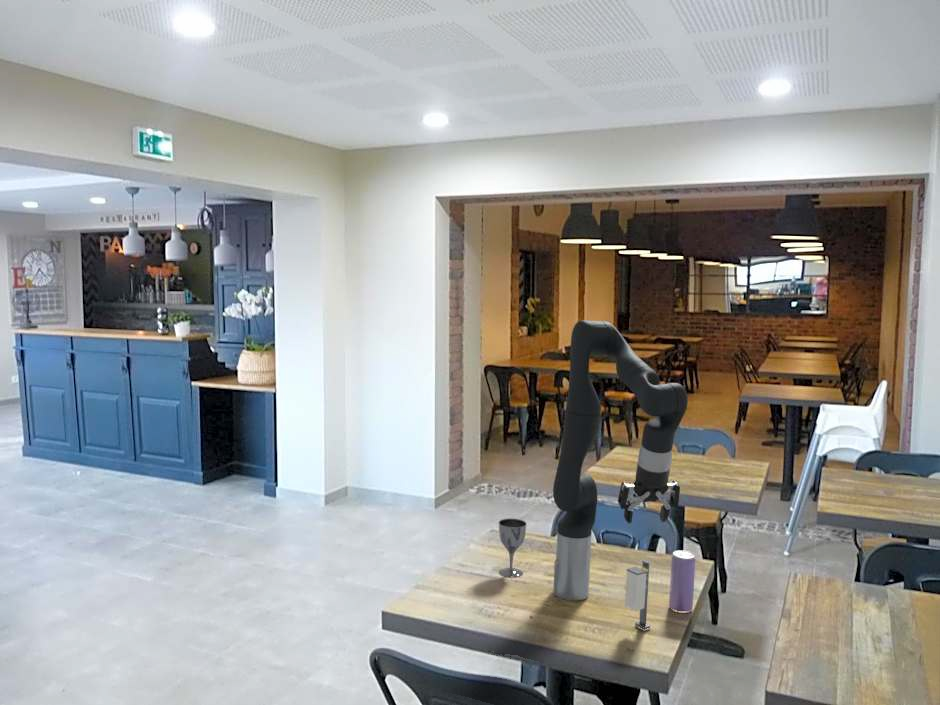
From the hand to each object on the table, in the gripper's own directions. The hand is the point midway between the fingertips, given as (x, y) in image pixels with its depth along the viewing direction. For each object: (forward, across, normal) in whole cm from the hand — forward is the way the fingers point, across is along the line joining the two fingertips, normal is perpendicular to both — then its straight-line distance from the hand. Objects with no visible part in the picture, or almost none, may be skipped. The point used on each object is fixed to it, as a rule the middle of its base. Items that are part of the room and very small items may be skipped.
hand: (645, 520), depth 183 cm
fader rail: (+27, -1, +7) cm, 28 cm away
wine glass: (+37, +26, -28) cm, 54 cm away
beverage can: (+31, -15, -3) cm, 34 cm away
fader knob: (+21, +2, +6) cm, 22 cm away
